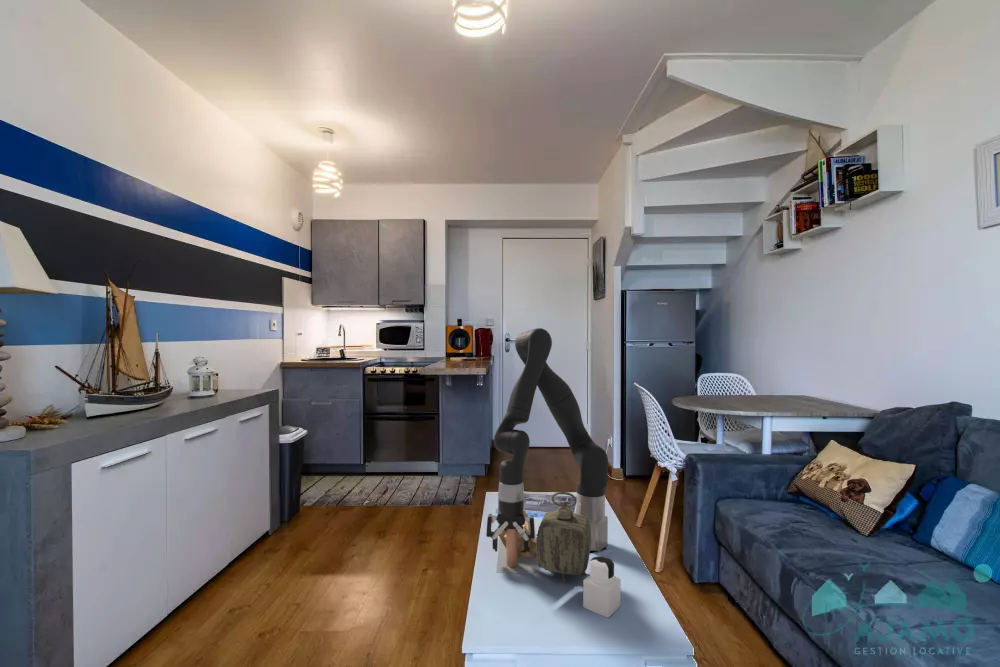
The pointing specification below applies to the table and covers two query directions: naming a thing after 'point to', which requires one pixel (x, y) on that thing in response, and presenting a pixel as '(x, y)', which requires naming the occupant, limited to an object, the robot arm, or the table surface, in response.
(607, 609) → the white blocky bust
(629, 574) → the table surface
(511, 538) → the peg
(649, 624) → the table surface
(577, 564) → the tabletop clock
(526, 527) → the socket
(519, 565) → the board
